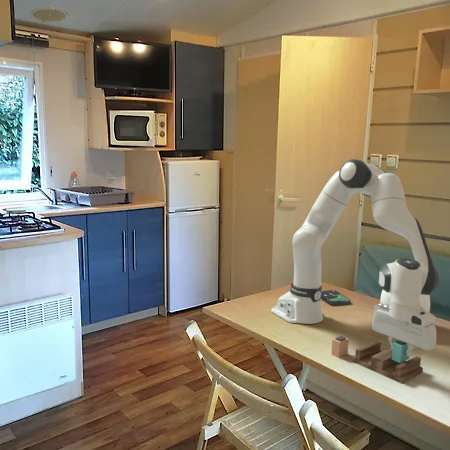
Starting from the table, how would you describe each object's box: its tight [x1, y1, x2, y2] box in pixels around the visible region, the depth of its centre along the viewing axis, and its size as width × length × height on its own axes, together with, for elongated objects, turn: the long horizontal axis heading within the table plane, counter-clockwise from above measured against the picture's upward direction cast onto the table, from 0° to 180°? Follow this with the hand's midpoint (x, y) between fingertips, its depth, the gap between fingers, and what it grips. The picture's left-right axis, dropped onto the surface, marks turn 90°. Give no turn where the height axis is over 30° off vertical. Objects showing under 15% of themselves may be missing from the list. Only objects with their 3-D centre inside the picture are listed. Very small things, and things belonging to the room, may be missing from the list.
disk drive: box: [321, 289, 351, 307], centre depth 217 cm, size 10×3×15 cm
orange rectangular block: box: [331, 335, 350, 359], centre depth 160 cm, size 3×5×6 cm, turn 128°
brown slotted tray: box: [351, 340, 424, 384], centre depth 152 cm, size 18×12×4 cm, turn 38°
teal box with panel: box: [392, 339, 410, 363], centre depth 148 cm, size 3×5×6 cm, turn 128°
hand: (400, 352), depth 148 cm, fingers closed on teal box with panel, 3 cm apart
